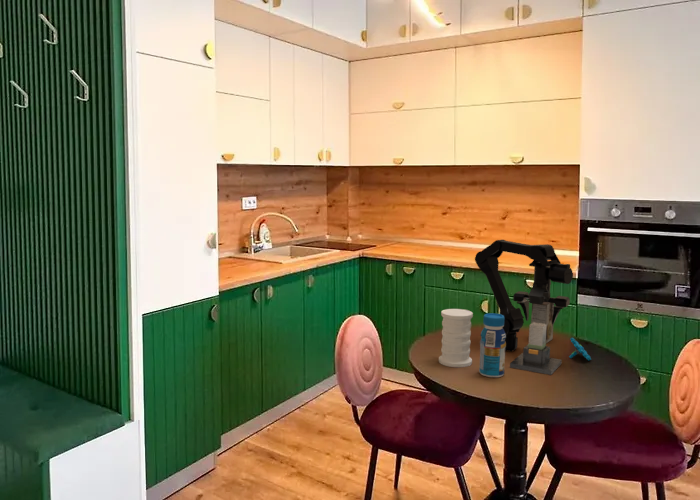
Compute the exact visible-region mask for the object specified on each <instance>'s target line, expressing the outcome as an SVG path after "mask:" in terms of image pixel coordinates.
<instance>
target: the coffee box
mask: <svg viewBox="0 0 700 500" xmlns="http://www.w3.org/2000/svg"><path fill="white" fill-rule="evenodd" d="M554 306H555V304H554V303H549V302H543V304H537V303H531V317H530V318H531V319H530V324H531V323H533V322H536V323H543V324H547V326H546V344H548V343H549V342H550V341H552V340H553V335H554V324H552V318H553V312H554V308H553V307H554Z"/></svg>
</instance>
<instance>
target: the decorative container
mask: <svg viewBox="0 0 700 500" xmlns="http://www.w3.org/2000/svg"><path fill="white" fill-rule="evenodd" d="M440 314H441V317H442V321H441V325H442V328H441V329H442V330H441V335H442V338H441V349H440V351H441V355H439V356H438V363H439V364H441V365H442V366H445V367H450V368H468V367H470V366H471V365H472V364H473V359H472V357H470V354H471V348H470V347H471V343H472V342H471V335H472V331H471V328H472V321H471V320H472V318H473V316H474V315H473V314H474V313H473V312H472V311H470V310H468V309H463V308H446V309H443V310H441V313H440Z"/></svg>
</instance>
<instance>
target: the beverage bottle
mask: <svg viewBox="0 0 700 500" xmlns="http://www.w3.org/2000/svg"><path fill="white" fill-rule="evenodd" d="M504 320H505V318H504V316H503V315H501V314H500V313H492V312H491V313H485V314H484V315H483V321H482V322H483V326H484V327H483V328H482V330H481V332H480V338H481V339H480V340H479V346H480V347H479V368H478V369H479V370H478V371H479V373H480V375H482V376H484V377H487V378H500V377H503V376H504V375H505V362H506V361H505V360H506V351H505V347H506V342H505V338H506V334H505V331H504V329H503V328H502V327H503V326H504Z"/></svg>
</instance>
